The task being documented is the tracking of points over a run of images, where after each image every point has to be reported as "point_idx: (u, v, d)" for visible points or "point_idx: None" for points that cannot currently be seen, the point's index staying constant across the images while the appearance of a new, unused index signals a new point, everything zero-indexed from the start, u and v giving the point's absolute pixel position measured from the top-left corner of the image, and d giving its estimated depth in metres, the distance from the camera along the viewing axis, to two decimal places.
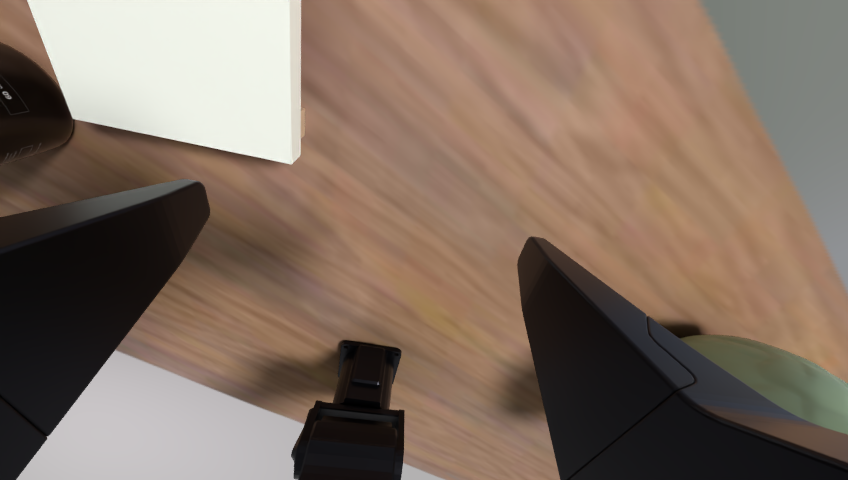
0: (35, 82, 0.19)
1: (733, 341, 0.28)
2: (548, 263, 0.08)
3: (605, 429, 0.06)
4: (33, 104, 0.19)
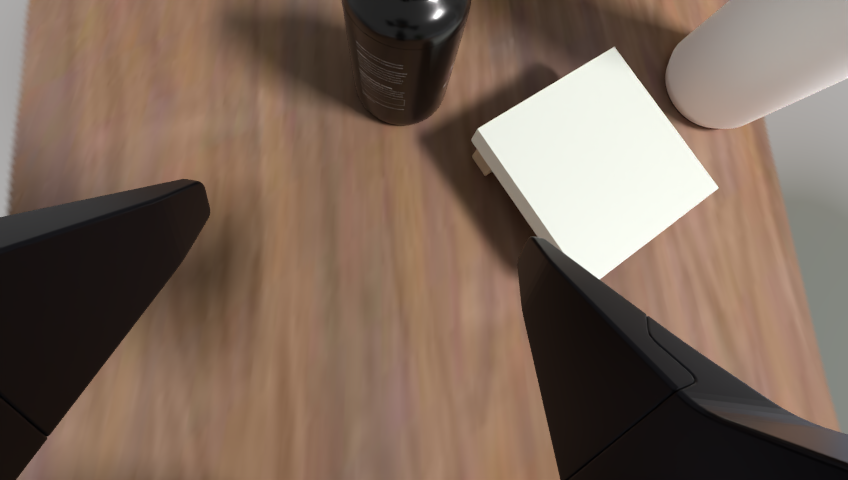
0: (443, 97, 0.23)
1: None
2: (548, 263, 0.08)
3: (605, 429, 0.06)
4: (436, 99, 0.22)
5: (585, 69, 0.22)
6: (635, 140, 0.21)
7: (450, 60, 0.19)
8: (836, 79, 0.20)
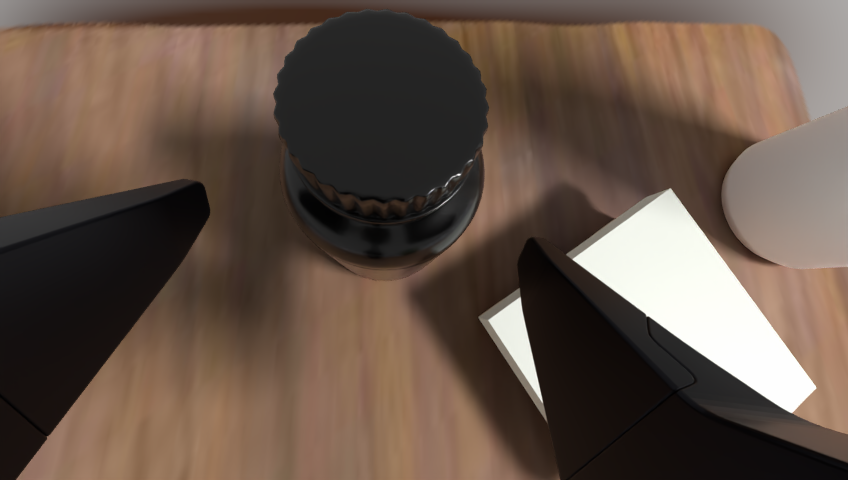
0: None
1: None
2: (548, 263, 0.08)
3: (605, 429, 0.06)
4: None
5: (633, 223, 0.16)
6: (703, 323, 0.16)
7: None
8: None
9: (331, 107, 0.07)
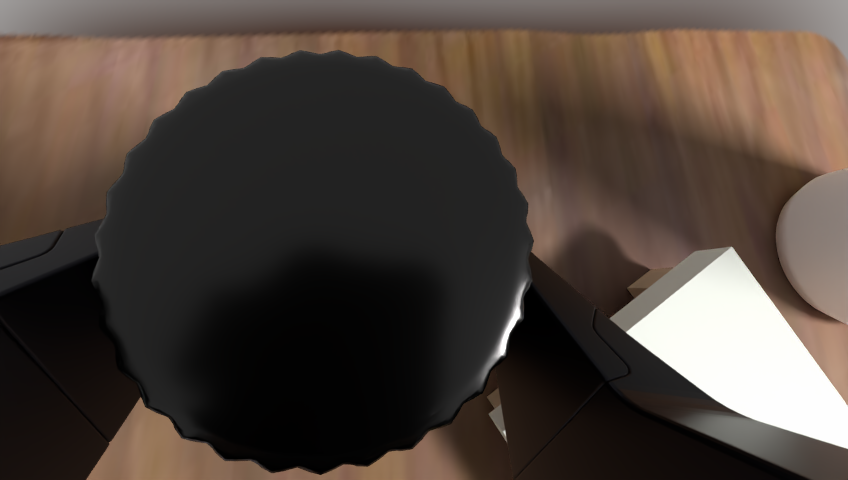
0: None
1: None
2: None
3: (548, 423, 0.06)
4: None
5: (687, 293, 0.13)
6: (777, 424, 0.12)
7: None
8: None
9: (216, 261, 0.03)
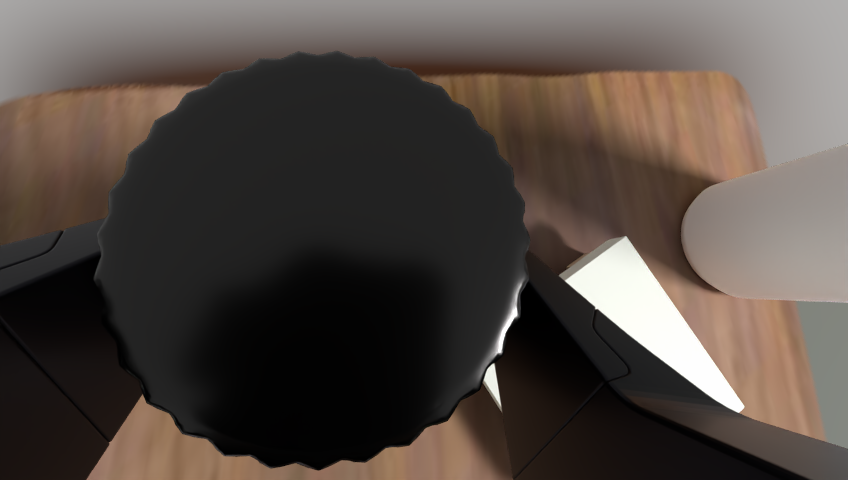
0: None
1: None
2: None
3: (548, 423, 0.06)
4: None
5: (592, 267, 0.19)
6: None
7: None
8: None
9: (216, 260, 0.03)
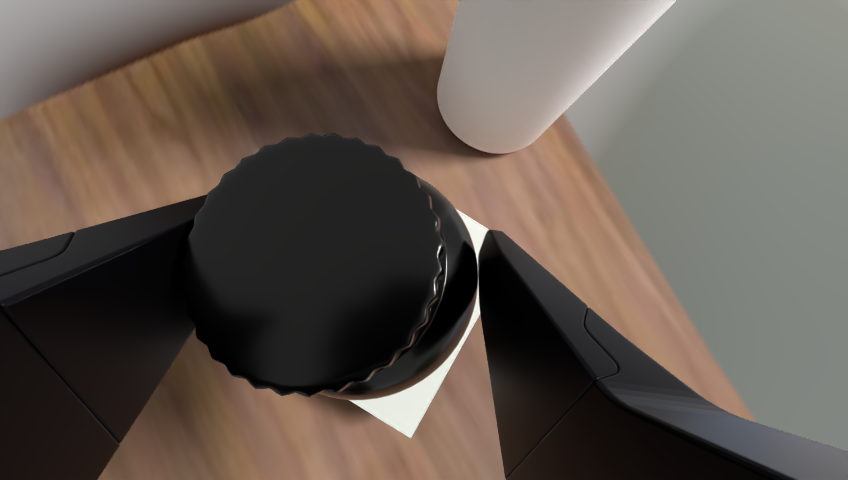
0: None
1: None
2: (499, 255, 0.08)
3: (539, 422, 0.05)
4: None
5: None
6: None
7: None
8: (577, 95, 0.17)
9: (244, 273, 0.06)
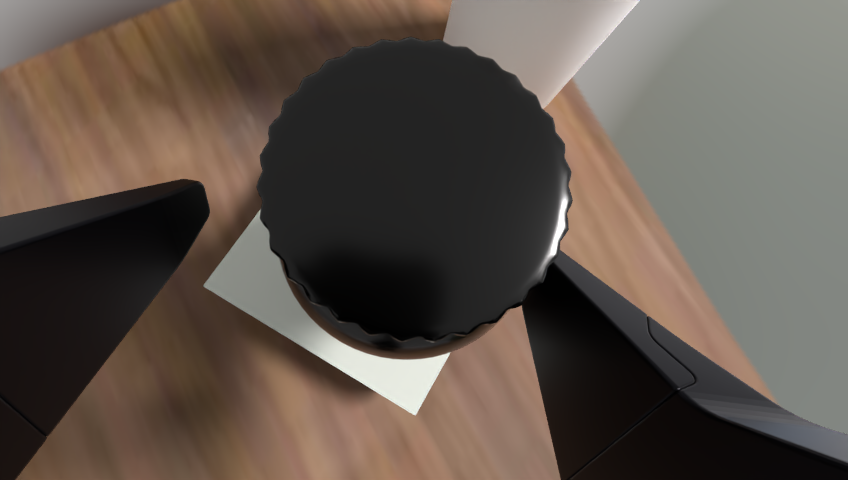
0: None
1: None
2: None
3: (605, 429, 0.06)
4: None
5: None
6: None
7: None
8: (594, 46, 0.16)
9: (344, 199, 0.05)
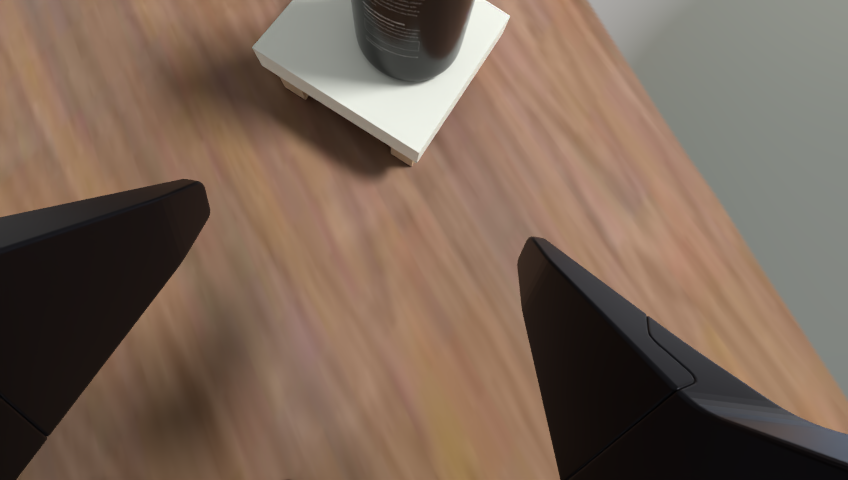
0: (461, 44, 0.19)
1: None
2: (548, 263, 0.08)
3: (605, 429, 0.06)
4: (455, 45, 0.18)
5: None
6: None
7: None
8: None
9: None
